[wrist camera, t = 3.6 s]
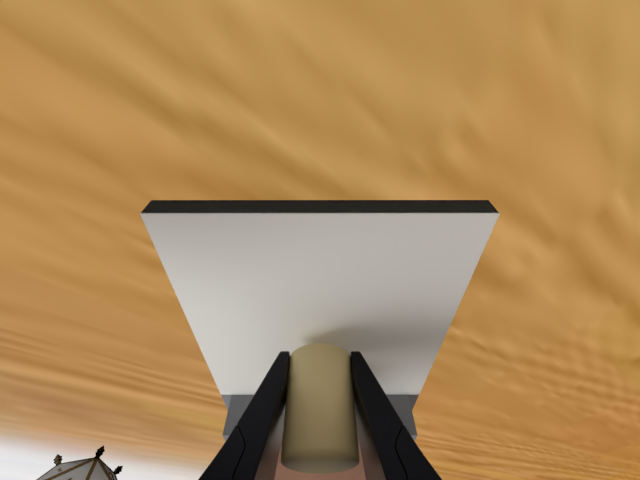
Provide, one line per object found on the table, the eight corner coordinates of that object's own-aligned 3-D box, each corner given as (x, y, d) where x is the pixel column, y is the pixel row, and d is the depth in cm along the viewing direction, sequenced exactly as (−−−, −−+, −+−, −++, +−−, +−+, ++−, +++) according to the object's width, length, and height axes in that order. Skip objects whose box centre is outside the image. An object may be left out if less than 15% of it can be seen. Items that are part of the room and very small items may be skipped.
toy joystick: (253, 324, 13) (228, 448, 9) (386, 323, 13) (411, 448, 9) (283, 456, 23) (277, 538, 20) (356, 456, 23) (363, 538, 20)
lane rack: (151, 200, 10) (103, 258, 8) (488, 199, 10) (536, 257, 8) (254, 455, 25) (248, 498, 23) (385, 455, 25) (391, 498, 23)
